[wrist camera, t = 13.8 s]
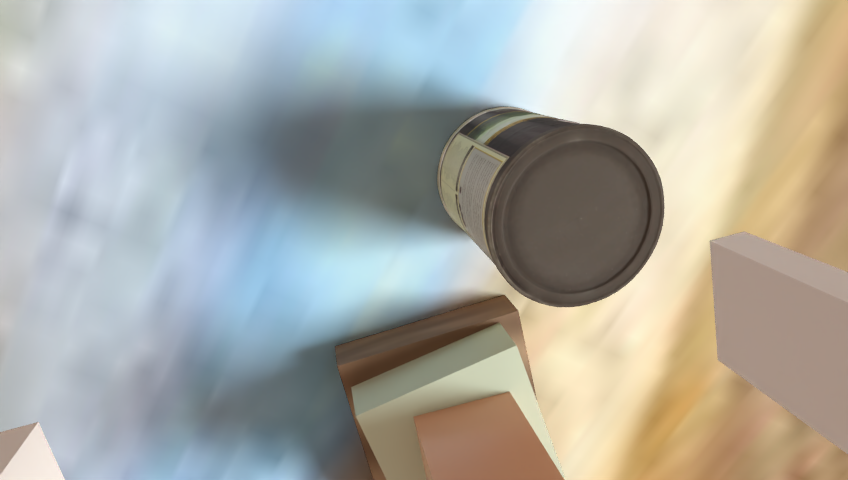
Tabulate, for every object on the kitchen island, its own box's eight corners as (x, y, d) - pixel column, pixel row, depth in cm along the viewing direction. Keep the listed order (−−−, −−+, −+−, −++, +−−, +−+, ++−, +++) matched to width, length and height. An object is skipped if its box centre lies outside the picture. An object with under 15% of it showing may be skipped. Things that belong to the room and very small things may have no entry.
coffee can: (500, 75, 46) (582, 83, 33) (592, 168, 49) (700, 209, 36) (406, 182, 47) (448, 232, 34) (502, 266, 50) (575, 342, 37)
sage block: (351, 387, 47) (355, 416, 43) (499, 322, 48) (516, 345, 44) (409, 508, 51) (418, 544, 47) (545, 446, 51) (564, 477, 48)
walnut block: (334, 342, 50) (337, 366, 46) (502, 292, 51) (518, 310, 48) (379, 485, 54) (385, 517, 51) (532, 434, 56) (549, 462, 52)
